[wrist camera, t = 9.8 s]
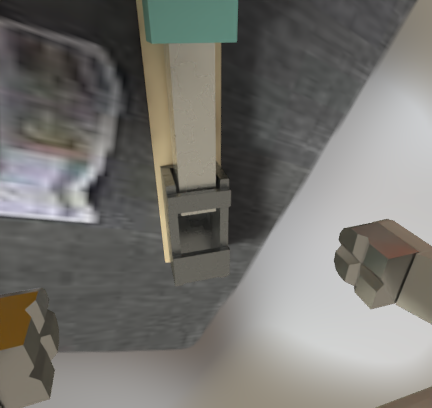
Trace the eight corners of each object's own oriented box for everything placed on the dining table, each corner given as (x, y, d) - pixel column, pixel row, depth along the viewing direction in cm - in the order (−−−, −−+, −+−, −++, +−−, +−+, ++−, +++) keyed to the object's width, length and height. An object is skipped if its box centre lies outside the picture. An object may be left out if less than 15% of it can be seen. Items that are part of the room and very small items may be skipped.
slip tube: (175, 199, 37) (180, 216, 34) (159, 3, 28) (164, 0, 24) (207, 195, 38) (216, 211, 35) (204, 4, 28) (215, 0, 25)
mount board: (164, 259, 44) (165, 262, 43) (130, -44, 27) (131, -46, 26) (219, 249, 46) (220, 253, 45) (219, -40, 29) (221, -41, 28)
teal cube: (145, 40, 30) (151, 43, 24) (137, -36, 27) (142, -55, 21) (214, 39, 32) (237, 42, 26) (213, -33, 29) (239, -50, 23)
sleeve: (169, 259, 43) (176, 291, 38) (160, 166, 36) (166, 189, 31) (216, 251, 44) (229, 280, 39) (216, 160, 38) (231, 181, 32)
